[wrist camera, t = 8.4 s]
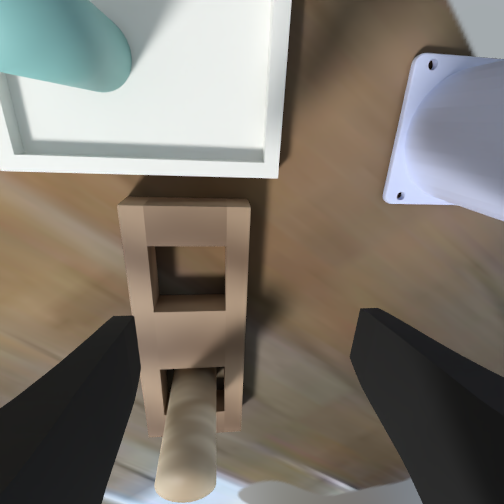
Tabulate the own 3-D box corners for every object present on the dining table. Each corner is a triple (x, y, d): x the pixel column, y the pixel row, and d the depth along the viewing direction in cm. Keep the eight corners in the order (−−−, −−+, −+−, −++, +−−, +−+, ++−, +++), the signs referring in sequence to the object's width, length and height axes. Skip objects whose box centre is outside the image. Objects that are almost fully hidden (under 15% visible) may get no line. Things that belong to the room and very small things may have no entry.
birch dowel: (216, 353, 23) (216, 462, 15) (216, 384, 24) (216, 499, 17) (173, 354, 22) (151, 467, 15) (175, 386, 24) (157, 505, 16)
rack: (127, 196, 17) (116, 205, 15) (247, 198, 18) (250, 207, 16) (153, 413, 24) (148, 437, 23) (239, 408, 25) (240, 430, 23)
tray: (291, -77, 13) (299, -97, 12) (273, 174, 18) (277, 178, 16) (-57, -121, 12) (-90, -151, 10) (18, 167, 16) (0, 170, 15)
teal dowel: (126, 13, 14) (21, -104, 6) (136, 93, 15) (59, 71, 8) (51, 9, 13) (-150, -118, 6) (68, 91, 15) (-79, 67, 7)
